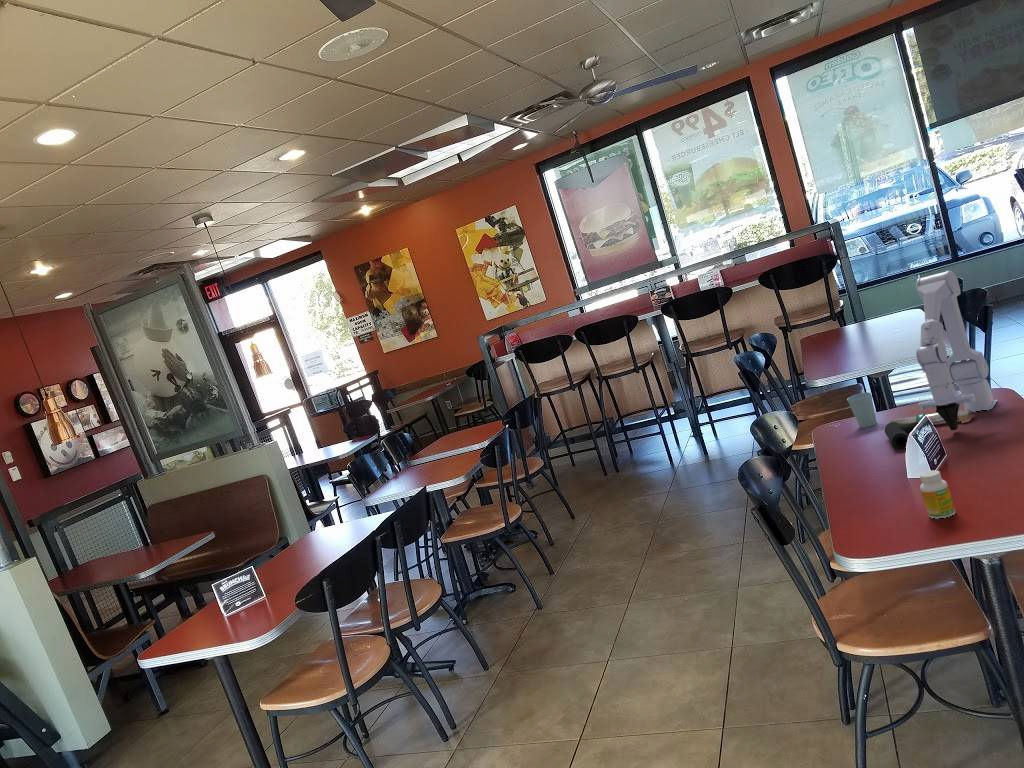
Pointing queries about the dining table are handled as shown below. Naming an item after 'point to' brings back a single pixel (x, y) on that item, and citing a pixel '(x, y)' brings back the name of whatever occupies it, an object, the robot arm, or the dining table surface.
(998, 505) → the dining table surface
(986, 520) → the dining table surface
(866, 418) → the cup
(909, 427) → the pipe connector
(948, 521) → the dining table surface
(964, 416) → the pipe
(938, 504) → the supplement bottle
